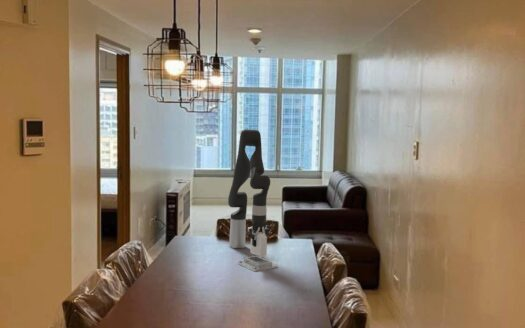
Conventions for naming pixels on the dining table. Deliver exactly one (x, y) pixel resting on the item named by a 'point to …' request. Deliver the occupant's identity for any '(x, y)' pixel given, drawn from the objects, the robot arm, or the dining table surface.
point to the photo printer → (260, 245)
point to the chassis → (257, 263)
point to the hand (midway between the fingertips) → (258, 245)
